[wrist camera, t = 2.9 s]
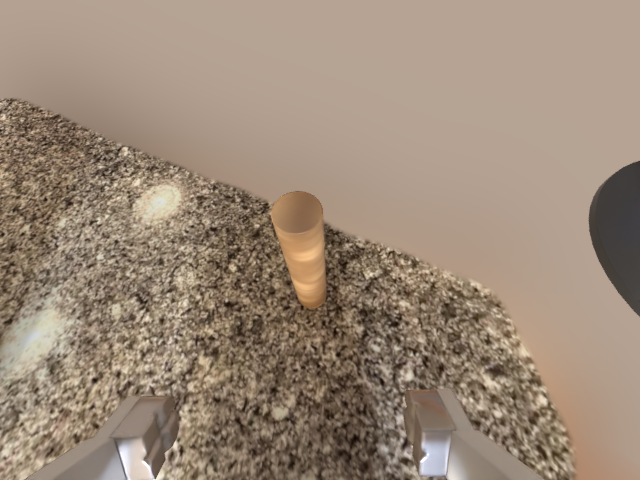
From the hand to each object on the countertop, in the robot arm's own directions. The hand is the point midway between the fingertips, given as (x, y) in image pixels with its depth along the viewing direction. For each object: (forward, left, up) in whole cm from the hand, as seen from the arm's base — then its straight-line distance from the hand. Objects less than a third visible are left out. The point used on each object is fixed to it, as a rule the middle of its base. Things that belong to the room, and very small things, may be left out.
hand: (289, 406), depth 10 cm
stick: (-1, -9, -15) cm, 18 cm away
